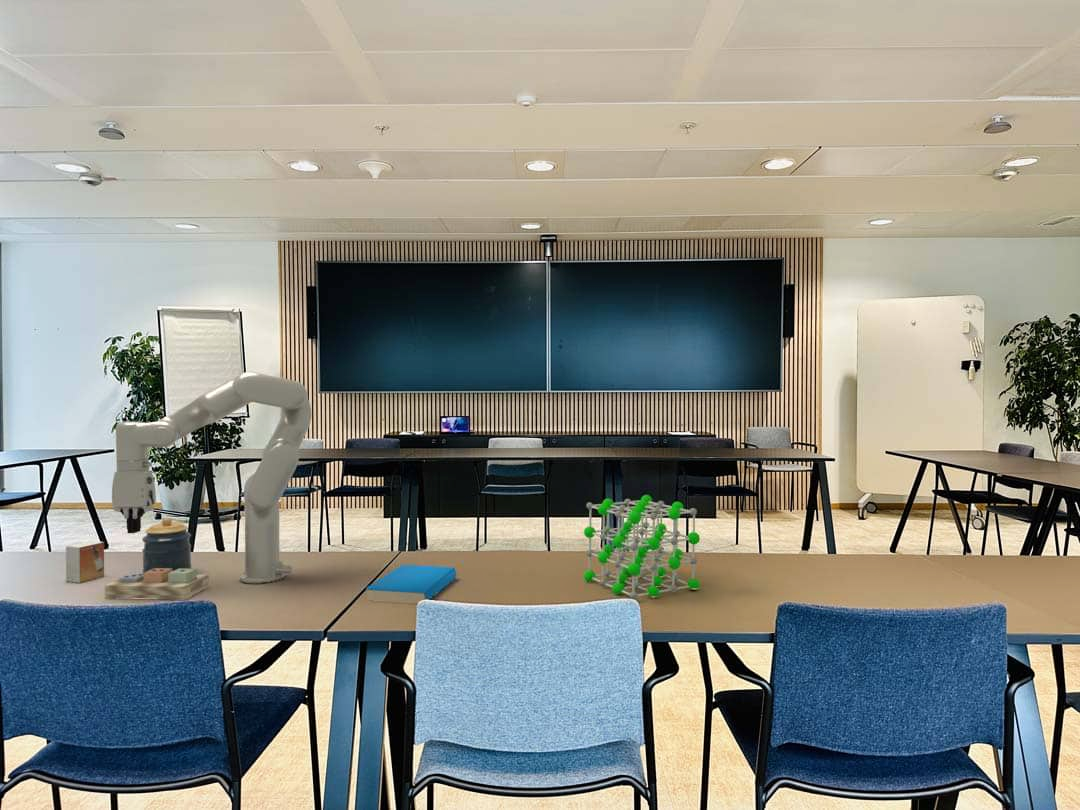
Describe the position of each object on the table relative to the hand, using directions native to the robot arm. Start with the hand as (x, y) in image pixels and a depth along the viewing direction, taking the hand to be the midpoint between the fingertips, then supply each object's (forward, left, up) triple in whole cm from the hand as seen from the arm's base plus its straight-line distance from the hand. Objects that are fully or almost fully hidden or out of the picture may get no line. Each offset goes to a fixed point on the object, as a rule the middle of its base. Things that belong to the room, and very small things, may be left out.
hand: (134, 532), depth 188 cm
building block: (0, 0, -15) cm, 15 cm away
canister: (+1, -17, -17) cm, 24 cm away
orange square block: (-7, 0, -14) cm, 15 cm away
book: (-76, -8, -18) cm, 79 cm away
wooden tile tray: (-7, 0, -17) cm, 18 cm away
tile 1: (-14, 0, -14) cm, 19 cm away
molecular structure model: (-141, -15, -17) cm, 143 cm away
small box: (+23, -12, -17) cm, 31 cm away
